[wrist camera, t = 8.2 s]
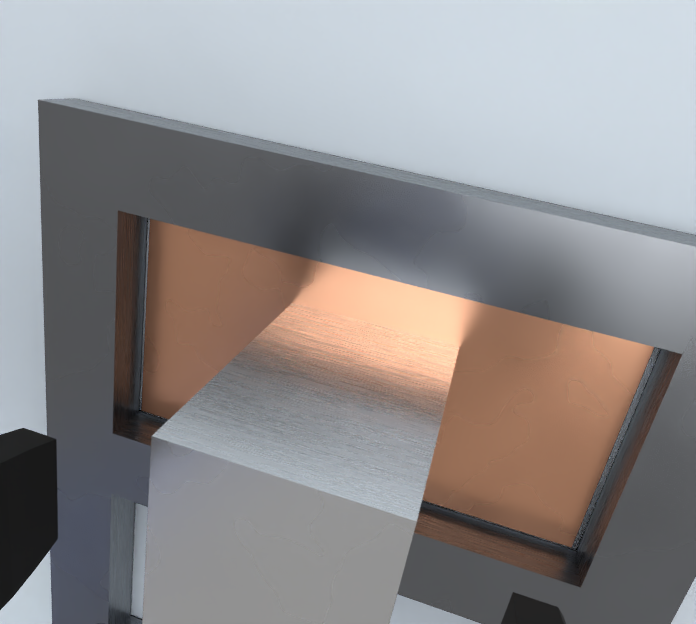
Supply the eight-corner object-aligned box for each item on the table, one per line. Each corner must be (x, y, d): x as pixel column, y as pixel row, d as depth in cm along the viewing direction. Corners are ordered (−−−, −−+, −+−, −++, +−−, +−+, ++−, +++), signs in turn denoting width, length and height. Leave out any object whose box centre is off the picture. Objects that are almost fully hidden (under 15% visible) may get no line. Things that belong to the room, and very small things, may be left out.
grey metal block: (421, 489, 15) (364, 715, 10) (272, 442, 16) (142, 629, 10) (459, 347, 14) (417, 521, 8) (292, 303, 14) (151, 435, 9)
